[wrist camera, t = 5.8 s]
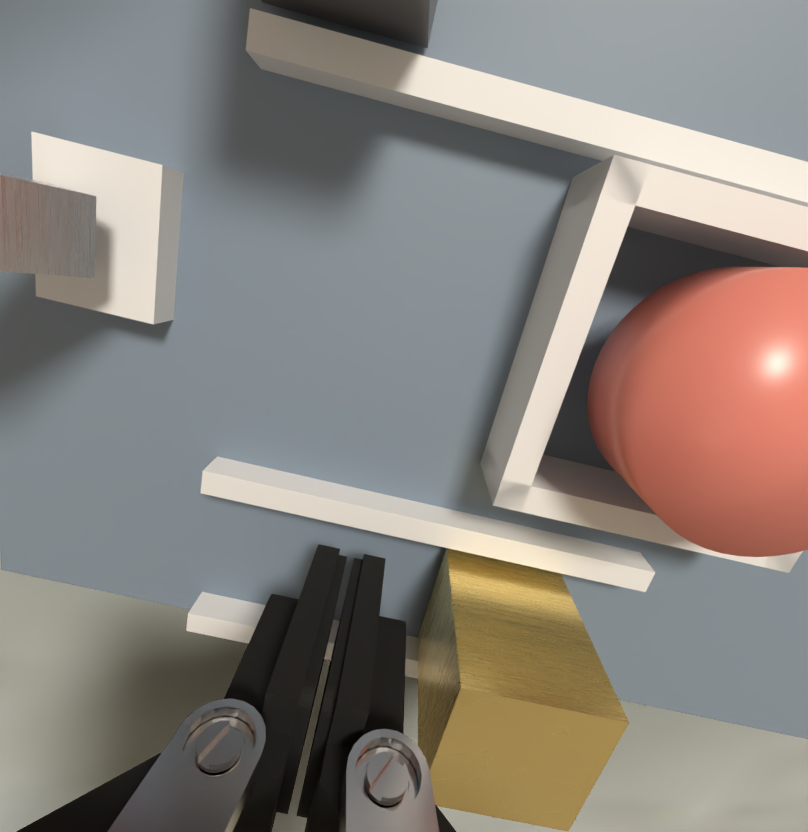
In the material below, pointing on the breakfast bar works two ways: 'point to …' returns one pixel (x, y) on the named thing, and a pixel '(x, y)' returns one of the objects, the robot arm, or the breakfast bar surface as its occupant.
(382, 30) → the slider gray
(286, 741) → the robot arm
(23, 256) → the toggle
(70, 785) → the breakfast bar surface
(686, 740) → the breakfast bar surface
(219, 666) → the breakfast bar surface
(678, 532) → the button
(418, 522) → the panel
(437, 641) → the slider brass
